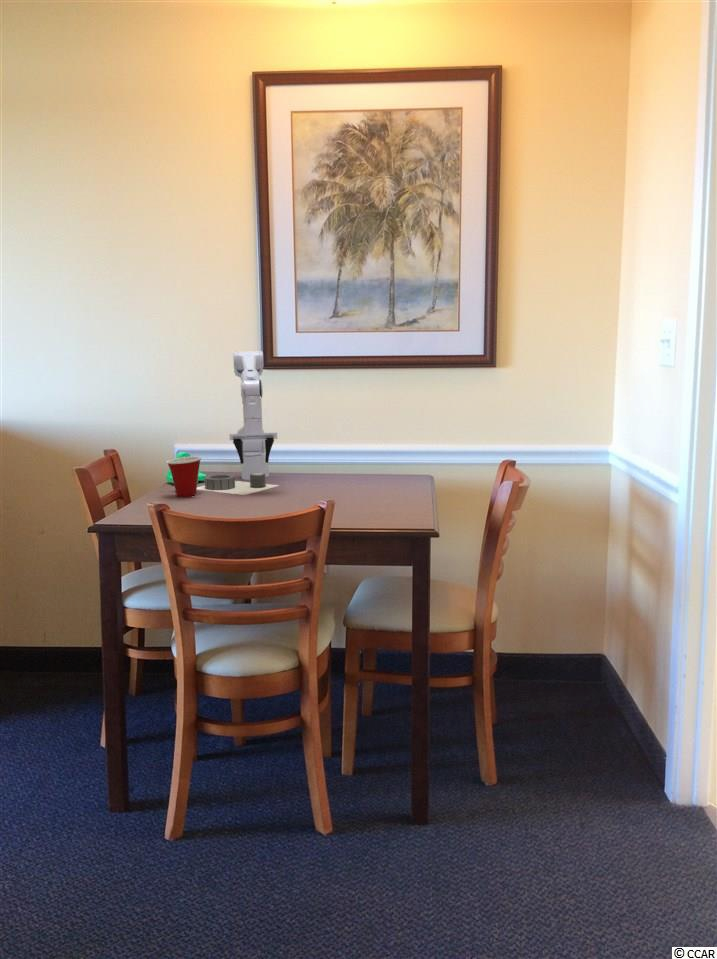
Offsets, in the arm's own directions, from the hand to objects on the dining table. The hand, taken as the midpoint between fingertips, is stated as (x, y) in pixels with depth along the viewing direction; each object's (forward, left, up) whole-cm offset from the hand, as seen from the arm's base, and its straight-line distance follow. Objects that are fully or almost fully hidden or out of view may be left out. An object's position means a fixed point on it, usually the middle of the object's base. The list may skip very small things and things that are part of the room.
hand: (254, 463), depth 270 cm
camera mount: (-8, -36, -11) cm, 39 cm away
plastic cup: (+10, -20, -11) cm, 25 cm away
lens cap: (-10, -7, -10) cm, 16 cm away
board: (-6, -13, -11) cm, 18 cm away
